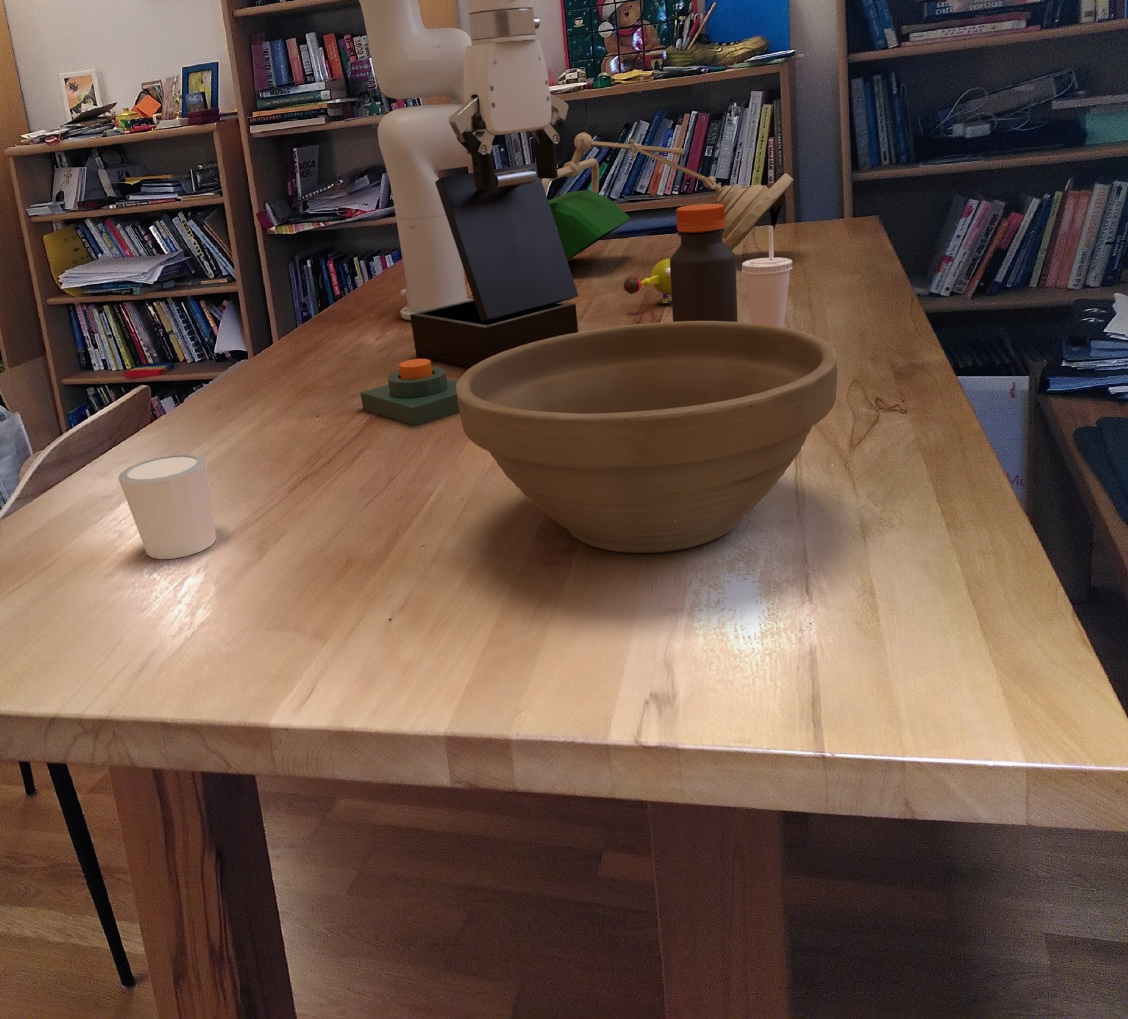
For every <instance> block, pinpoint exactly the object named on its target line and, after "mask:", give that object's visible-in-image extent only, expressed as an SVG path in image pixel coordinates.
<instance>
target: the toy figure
mask: <svg viewBox="0 0 1128 1019" xmlns="http://www.w3.org/2000/svg"><path fill="white" fill-rule="evenodd" d="M642 285H643V286H645V287H648V286H650V285H653V287H654V288H655V289H656V291H658V292H660V293H661V294H662V305H663V306H664V305H665V306H668V305H672V294H671V275H670V258H665V259H662V260H660V261H658V262H657V263H656V264H655V265H654V266H653V268H652V270H651V276H650V277H649V278H648V277H646V278H644V279H643V280H641V281H640V279H639V278H637V277H634V276H631V277H628V278H626V279H625V280H624V282H623V289H624V291H625V292H626V293H628V294H630V295H633V294H636V293H638V292H639V291H640V290H641V287H642ZM668 295H670V301H668Z"/></svg>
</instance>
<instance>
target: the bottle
mask: <svg viewBox="0 0 1128 1019" xmlns="http://www.w3.org/2000/svg"><path fill="white" fill-rule="evenodd" d="M675 213H676V214H675V215H676V230H677V232H678V233H677V236H679V237H680V245H679V246H678V248H677V249H676V250H675V251H674V253H673V254H672V255H671V257H669V259H670V275H671V294H672V304H671V309H672V322H682V321H725V322H739V321H738V292H737V291H738V290H737V288H738V287H737V259H736V254H735V252H734V251H733V250H731V249H730V248H729V247H728V246H727V245H726V244H725V243H724V240H723V239H724V238H723V237H722V233H723V232H725V229H723V228H724V227H725V206H724V205H723V204H717V203H698V204H688V205H683V206H680V207H678V208H676V212H675ZM671 294H670V295H671Z"/></svg>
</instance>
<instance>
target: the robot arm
mask: <svg viewBox="0 0 1128 1019" xmlns="http://www.w3.org/2000/svg"><path fill="white" fill-rule="evenodd" d="M358 2H359V4H360V7H361V11H362V15H363V21H364V25H365V26H364V27H365V32H366V36H367V41H368V46H369V52H370V56H371V61H372V66H373V71H374V74H375V79H376V82H377V85H378V88H379V90H380V91H381V92H382V94H383V95H384V96H386V97H388V98H390V99H395V100H407V99H408V100H409V99H410V100H411V99H420V98H431V97H439V96H440V97H443V96H446V97H448V99H449V100H450V102H448V103H438V104H425V105H414V106H406V107H400V108H397V109H394V110H391V111H390V112H388V113H386V114H384V115H383V116H382V118H381V120H380V121H379V123H378V127H377V140H378V146H379V149H380V152H381V156H382V160H383V163H384V166H385V169H386V174H387V177H388V181H389V185H390V191H391V194H392V201H393V207H394V213H395V219H396V225H397V232H398V239H399V245H400V252H401V259H402V266H403V273H404V279H405V285H404V288H403V289H401V291H400V297H402V298H405V299H406V301H407V305H406V306H404V307H403V308H402V307H401V309H400V312H399V313H400V318H402V319H403V320H405V321H411V318H410V314H414V313H418V312H423V311H427V310H431V309H435V308H439V307H443V306H447V305H451V304H455V303H460V302H464V301H468V300H472V299H473V298H468V294H467V286H466V279H465V277H466V276H465V271H464V268H463V265H462V262H461V259H460V256H459V253H458V250H457V247H456V244H455V241H454V238H453V235H452V232H451V229H450V226H449V223H448V220H447V217H446V214H445V211H444V208H443V205H442V202H441V199H440V196H439V193H438V190H437V187H436V184H435V182H436V181H437V180H438V179H440V178H439V177H438V176H437V175H436V172H438V171H444V170H449V169H450V170H451V169H457V168H465V167H471V166H472V173H474V180H475V184H476V188H477V189H486V190H491V189H495V187H496V182H495V172H494V169H495V163H494V156H493V154H492V149H493V142H494V139H495V137H496V136H501V135H503V136H504V135H510V134H511V135H512V134H517V133H523V132H524V133H525V132H530V133H531V134H532V135H533V137H535V139H536V140H537V142H538V144H535V145H534V146H535V147H534V150H535V163H536V165H537V175H538V177H539V178H541V179H542V178H547V179H554V178H557V177H558V172H557V170H558V160H557V148H556V144H557V145H558V144H559V143H560V135H561V134H562V132H563V130H564V129H565V126H566V124H565V123H566V122H565V121H566V118H567V115H568V112H569V104H568V103H567V102H565V101H564V100H562V99H560V98H558V97H557V96H555V95H554V94H552V93H551V89H550V83H549V77H548V76H549V75H548V72H547V71H548V70H547V66H546V65H547V64H546V60H545V57H544V52H543V48H542V45H541V41H540V39H537V37H536V36H537V35H536V30H538V29H540V25H541V21H540V18H539V16H535V12H534V0H466V5H467V6H466V7H467V16H468V25H469V34H468V33H467V32H466V31H464V30H462V29H461V28H457V27H438V28H426V27H425V25H424V23H423V20H422V15H421V14H422V13H421V9H420V3H419V0H358ZM469 35H470V36H469Z"/></svg>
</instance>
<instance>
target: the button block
mask: <svg viewBox="0 0 1128 1019" xmlns="http://www.w3.org/2000/svg"><path fill="white" fill-rule="evenodd" d="M431 367H432V374H433V375H432V376H429V377H425V378H420V379H413V380H403V379H401V376H400V370H399V371H395V372H393V373H392V374H390V375H388V376H387V383H388V384H384V385H381V386H377V387H373V388H371V389H368V390H364V391H361V392H360V394H359V395H360V399H361V404H362V411H365V412H368V413H372V414H375V415H377V416H381V417H384V418H387V419H391V420H394V421H397V422H400V423H403V424H406V425H409V426H413V427H418V426H420V425H424V424H427V423H430V422H433V421H437V420H439V419H443V418H446V417H449V416H452V415H456V414H460V411H459V406H458V401H457V391H456V384H457V382H458V381H455V380H451V379H447V372H446V370H445V368H442V367H437V366H431Z"/></svg>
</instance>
